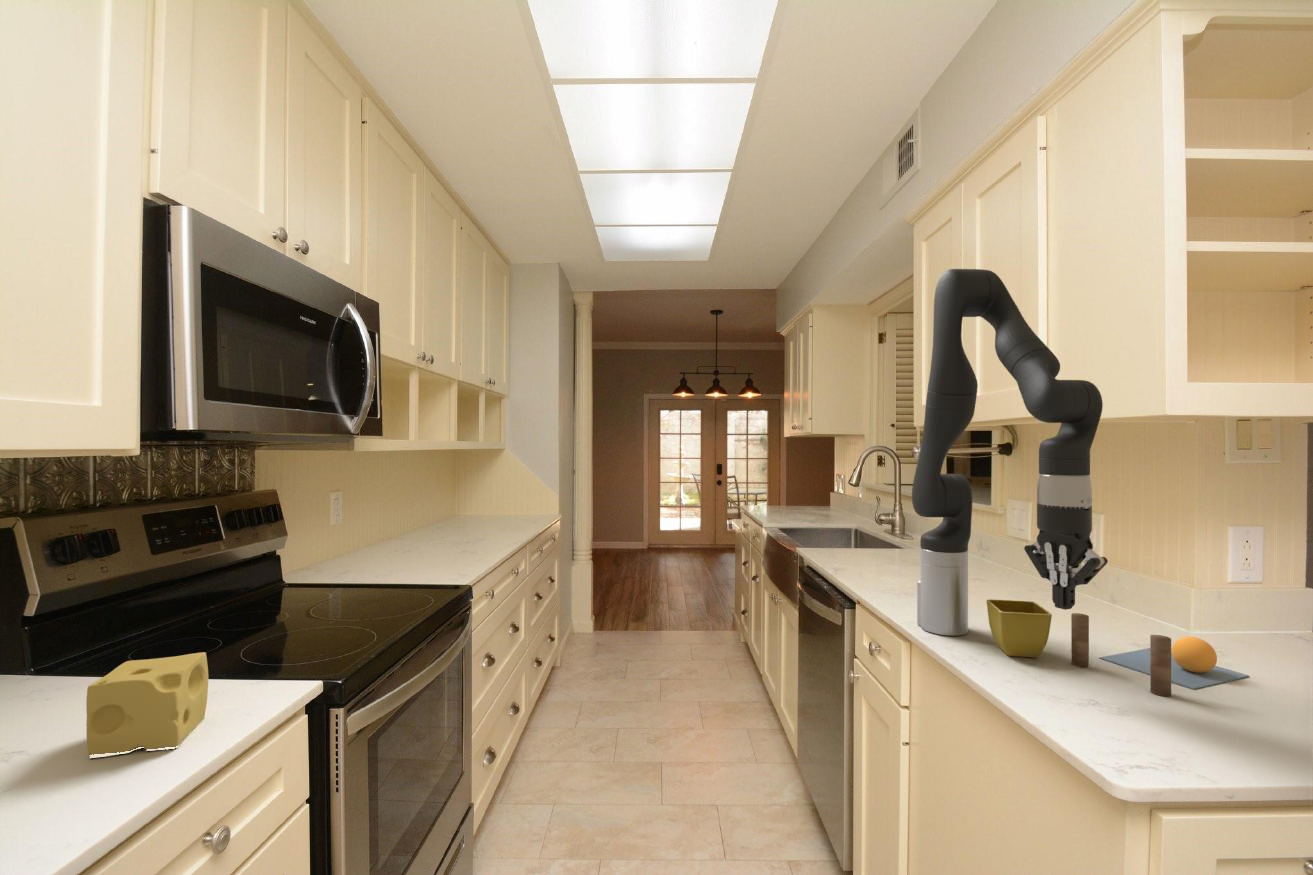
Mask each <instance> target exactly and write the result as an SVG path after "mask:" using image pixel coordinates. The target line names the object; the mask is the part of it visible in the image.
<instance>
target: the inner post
mask: <svg viewBox="0 0 1313 875" xmlns="http://www.w3.org/2000/svg"><path fill="white" fill-rule="evenodd" d="M1070 617H1071V623H1070V624H1071V626H1070V627H1071V629H1070V630H1071V632H1070V633H1071V642H1070V644H1071V647H1070V648H1071V649H1070V650H1071V665H1072V666H1073V667H1078V668H1081V669H1082V668H1083V669H1084V668H1085V669H1086V668H1089V667H1090V616H1089V615H1088V614H1084V613H1081V612H1073V613H1071V616H1070Z"/></svg>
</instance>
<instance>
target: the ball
mask: <svg viewBox="0 0 1313 875" xmlns="http://www.w3.org/2000/svg"><path fill="white" fill-rule="evenodd" d="M1171 653H1172V656H1173V658H1174V660H1175V662H1176V663H1177V664H1178V665H1179V666H1180V667H1182V668H1183V669H1185V670H1187V671H1190V672H1194V673H1204V672H1208V671H1210V670H1211V669H1213V668H1214V666H1217V662H1218V656H1217V652H1216V651H1215V649H1214V647H1213V646H1212V645H1211V644H1210V643H1209V642H1207V641H1206V640H1204V639H1202V638H1199V637H1194V636H1184V637H1181V638H1178V639H1177V640H1176V641H1175V642H1174V643H1173V644H1172V645H1171Z"/></svg>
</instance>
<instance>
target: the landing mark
mask: <svg viewBox="0 0 1313 875" xmlns="http://www.w3.org/2000/svg"><path fill="white" fill-rule="evenodd" d="M1099 659H1100V660H1103V661H1105V662H1109V663H1112V664H1115V665H1118V666H1121V667H1124V668H1127V669H1131V670H1133V671H1136V672H1138V673H1142V674H1145V675H1149V676H1150V647H1149V648H1143V649H1138V650H1137V649H1136V650H1133V651H1132V650H1131V651H1127V652H1121V653H1117V654H1111V655H1106V656H1105V655H1104V656H1101V657H1099ZM1249 677H1250V675H1248V674H1245V673H1243V672H1238V671H1234V670H1231V669H1228V668H1224V667H1222V666H1218V665H1215V666H1214V668H1213V669H1211V670H1210V671H1208V672H1204V673H1194V672H1190V671H1187V670H1185V669H1183V668H1182V667H1180V666H1179V665H1178V664H1177V663H1176V662H1175V660H1174V658H1173V656H1172V652H1171V684H1175V685H1178V686H1181V687H1184V688H1187V689H1191V690H1193V691H1194V690H1197V689H1203V688H1206V687H1210V686H1215V685H1219V684H1220V685H1221V684H1223V683H1224V684H1225V683H1227V682H1231V681H1237V680H1241V679H1244V678H1245V679H1246V678H1249Z"/></svg>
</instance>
